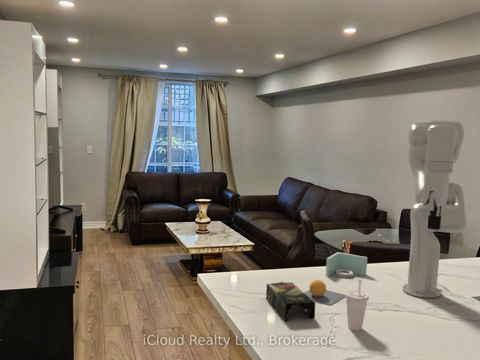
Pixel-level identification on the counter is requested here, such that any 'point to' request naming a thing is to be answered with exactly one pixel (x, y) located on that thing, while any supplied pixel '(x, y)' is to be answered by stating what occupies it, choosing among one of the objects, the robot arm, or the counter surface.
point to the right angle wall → (346, 265)
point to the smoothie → (356, 308)
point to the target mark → (326, 297)
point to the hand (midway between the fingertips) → (433, 228)
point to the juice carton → (288, 299)
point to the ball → (317, 288)
